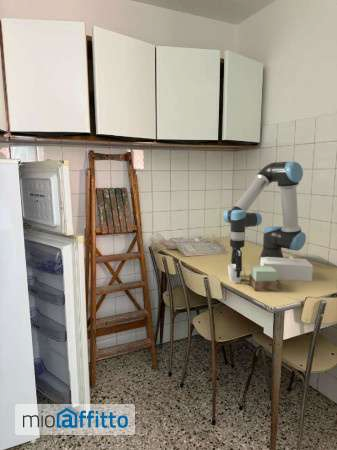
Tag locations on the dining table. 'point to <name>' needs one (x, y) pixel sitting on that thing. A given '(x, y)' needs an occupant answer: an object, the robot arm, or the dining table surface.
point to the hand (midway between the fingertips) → (235, 279)
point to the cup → (233, 271)
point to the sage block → (263, 273)
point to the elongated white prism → (289, 268)
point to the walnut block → (264, 285)
